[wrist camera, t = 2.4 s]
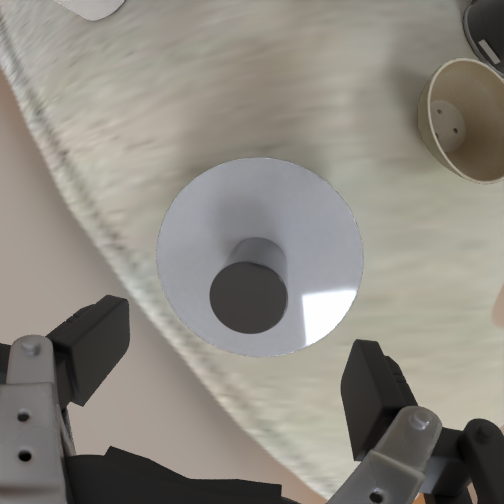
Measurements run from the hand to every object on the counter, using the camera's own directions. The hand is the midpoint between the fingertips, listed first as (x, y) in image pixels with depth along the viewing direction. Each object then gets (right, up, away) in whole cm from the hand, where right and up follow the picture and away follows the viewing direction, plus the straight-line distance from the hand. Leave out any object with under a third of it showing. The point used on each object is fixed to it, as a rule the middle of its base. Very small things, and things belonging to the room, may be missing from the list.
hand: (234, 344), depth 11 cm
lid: (+1, +2, +9) cm, 10 cm away
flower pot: (+19, +15, +14) cm, 28 cm away
